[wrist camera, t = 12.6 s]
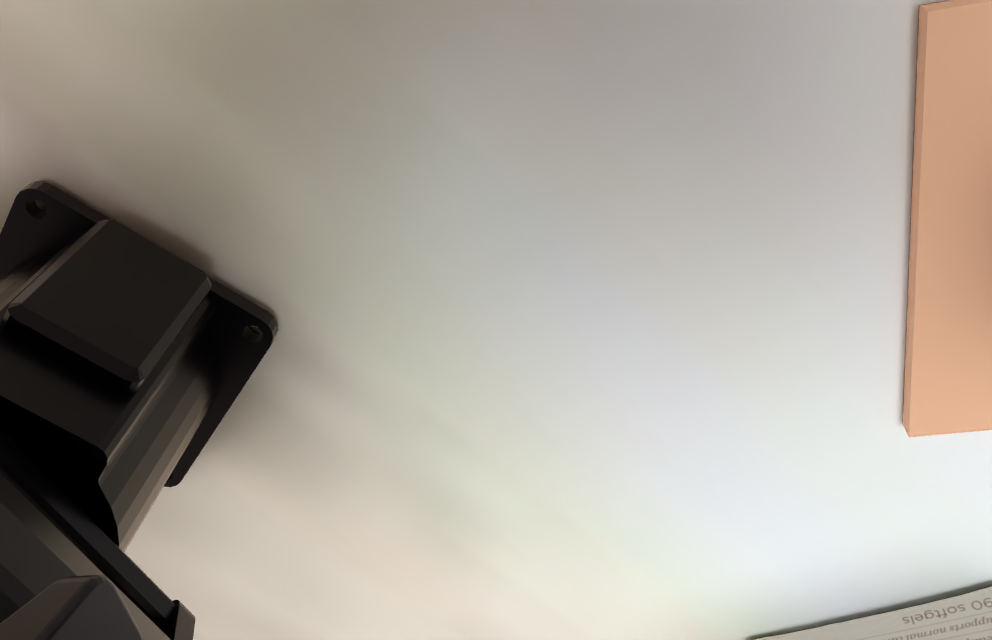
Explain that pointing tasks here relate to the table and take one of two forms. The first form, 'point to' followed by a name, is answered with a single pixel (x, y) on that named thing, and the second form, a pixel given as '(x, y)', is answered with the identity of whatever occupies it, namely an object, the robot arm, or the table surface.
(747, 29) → the table surface
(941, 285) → the pad
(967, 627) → the supplement box
